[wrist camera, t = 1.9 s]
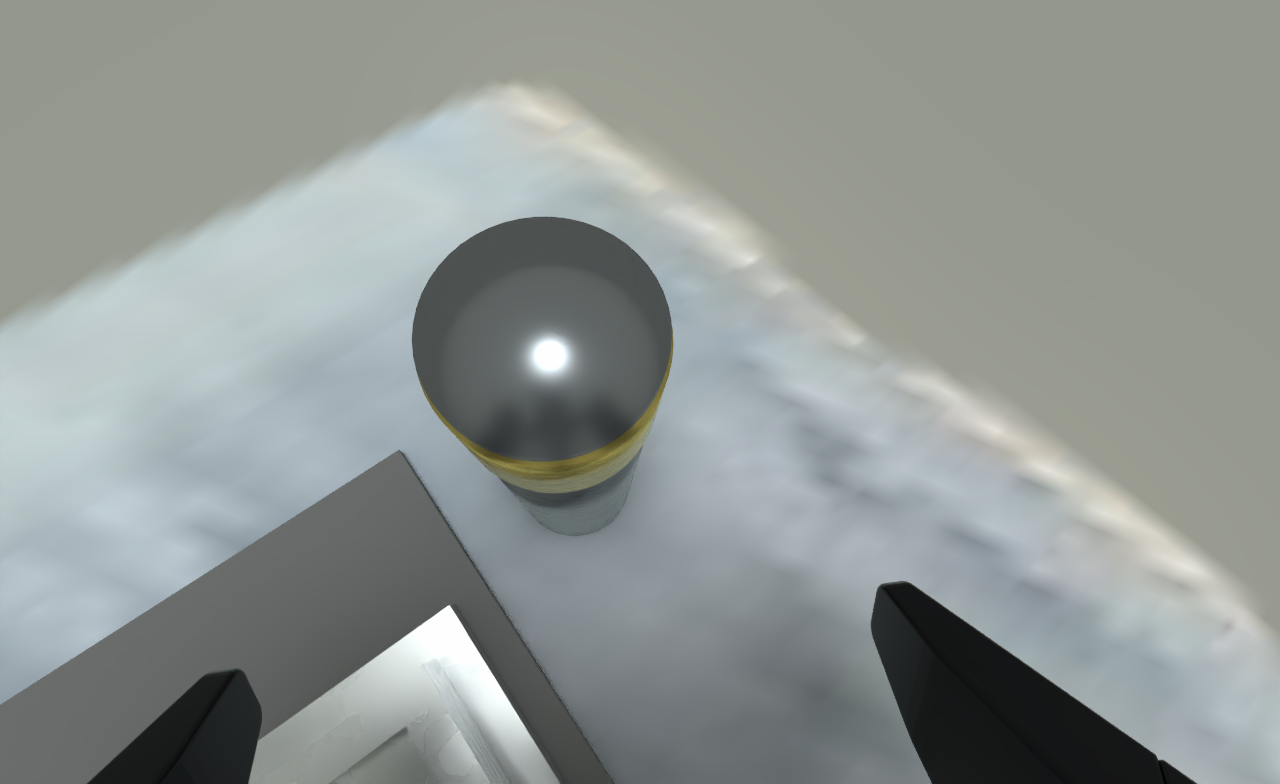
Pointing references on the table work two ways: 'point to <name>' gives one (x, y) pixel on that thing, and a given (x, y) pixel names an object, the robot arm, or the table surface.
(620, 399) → the grey yellow-banded cylinder
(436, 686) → the silver square tray
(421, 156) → the table surface
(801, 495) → the table surface
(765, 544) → the table surface
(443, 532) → the mat
